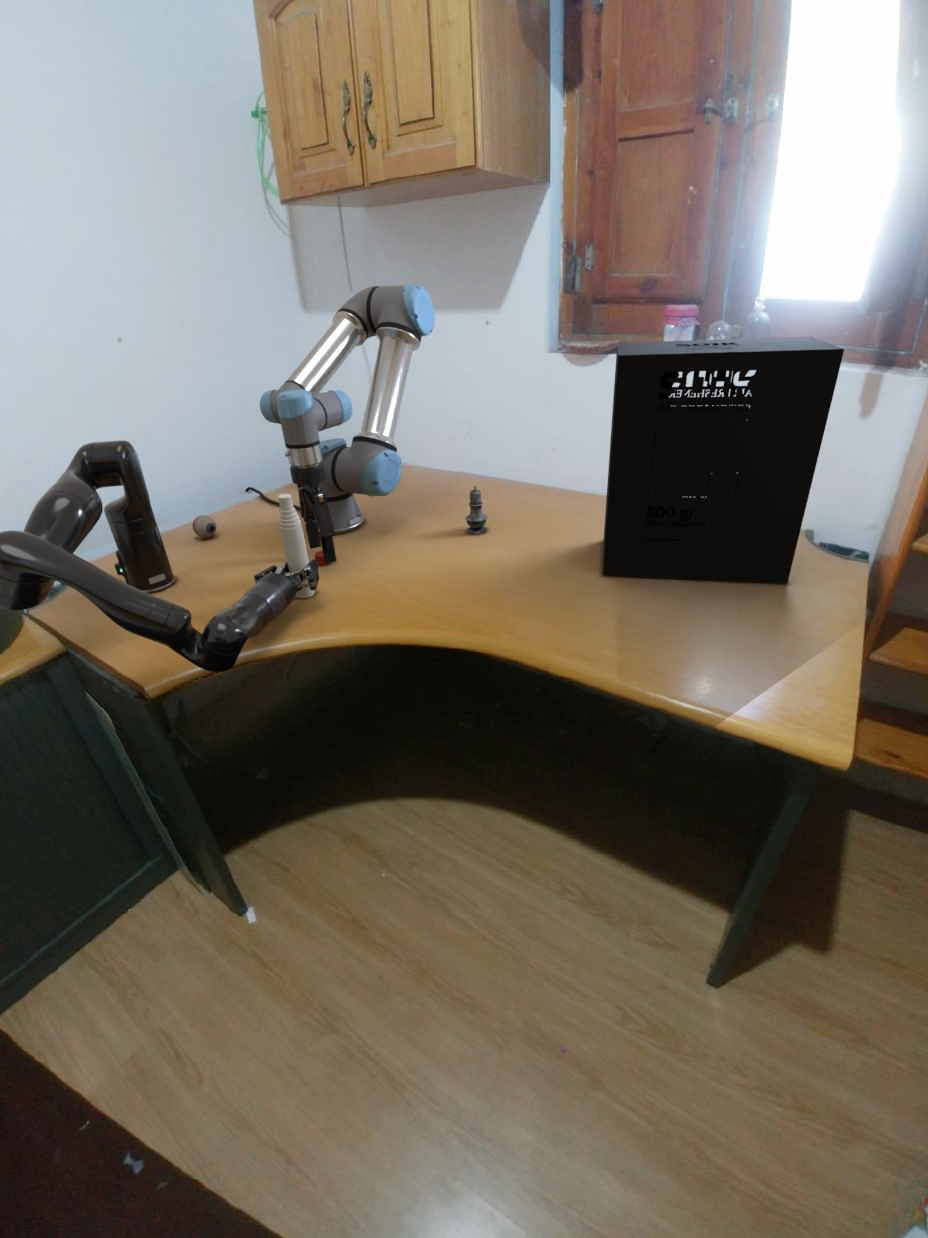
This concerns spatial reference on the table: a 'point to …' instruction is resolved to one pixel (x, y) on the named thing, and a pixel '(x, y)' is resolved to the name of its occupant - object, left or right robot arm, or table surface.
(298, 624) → the table surface
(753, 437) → the cardboard box
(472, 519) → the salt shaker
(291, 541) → the bottle
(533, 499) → the table surface
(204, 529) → the eyeball
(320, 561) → the cap
